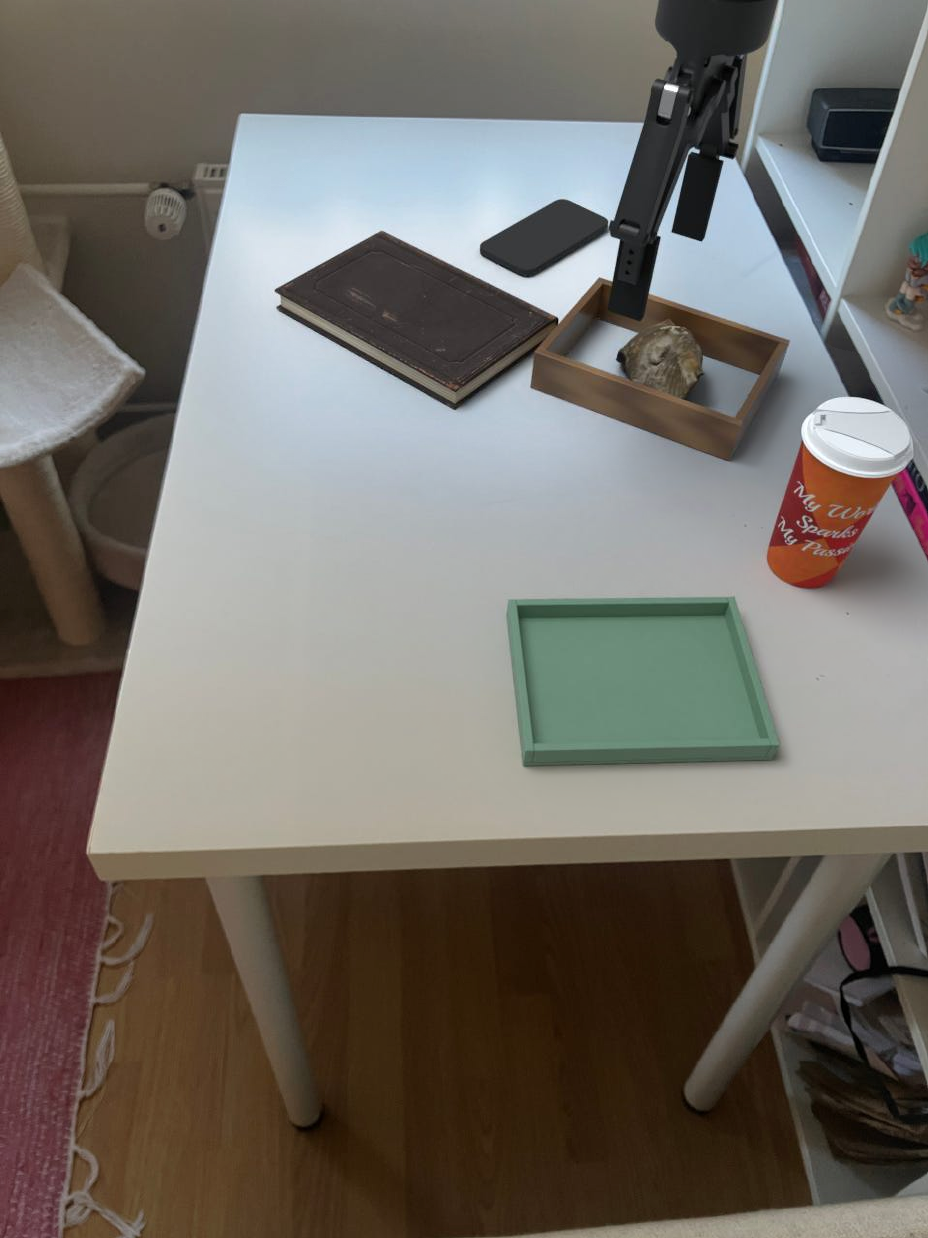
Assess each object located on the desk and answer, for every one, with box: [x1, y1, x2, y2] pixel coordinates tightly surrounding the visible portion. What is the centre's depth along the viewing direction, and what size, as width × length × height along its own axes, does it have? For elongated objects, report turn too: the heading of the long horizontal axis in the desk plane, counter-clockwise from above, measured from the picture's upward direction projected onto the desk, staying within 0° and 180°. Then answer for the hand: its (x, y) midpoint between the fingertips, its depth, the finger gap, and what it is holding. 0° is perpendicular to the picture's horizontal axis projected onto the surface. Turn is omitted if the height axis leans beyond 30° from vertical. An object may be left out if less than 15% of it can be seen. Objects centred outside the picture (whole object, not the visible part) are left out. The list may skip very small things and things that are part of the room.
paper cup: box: [766, 396, 914, 589], centre depth 75 cm, size 8×8×14 cm
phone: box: [479, 198, 609, 277], centre depth 110 cm, size 7×1×15 cm
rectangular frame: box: [529, 276, 791, 462], centre depth 94 cm, size 20×15×4 cm
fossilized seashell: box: [615, 319, 705, 400], centre depth 93 cm, size 8×7×10 cm
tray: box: [505, 596, 781, 767], centre depth 71 cm, size 17×13×2 cm
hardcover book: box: [274, 230, 560, 410], centre depth 99 cm, size 16×23×2 cm
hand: (658, 272), depth 80 cm, fingers open, 13 cm apart
